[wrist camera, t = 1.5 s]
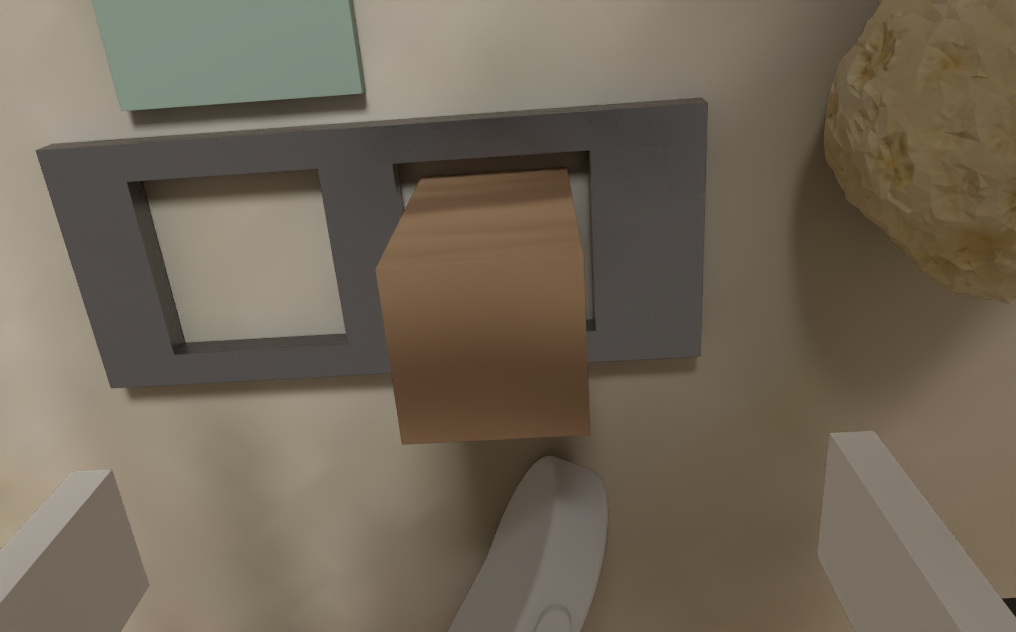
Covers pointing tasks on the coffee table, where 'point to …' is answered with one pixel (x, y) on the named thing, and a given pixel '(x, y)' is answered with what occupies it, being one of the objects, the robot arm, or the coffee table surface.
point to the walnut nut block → (487, 309)
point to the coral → (933, 137)
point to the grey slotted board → (387, 230)
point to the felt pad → (228, 50)
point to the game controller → (542, 555)
